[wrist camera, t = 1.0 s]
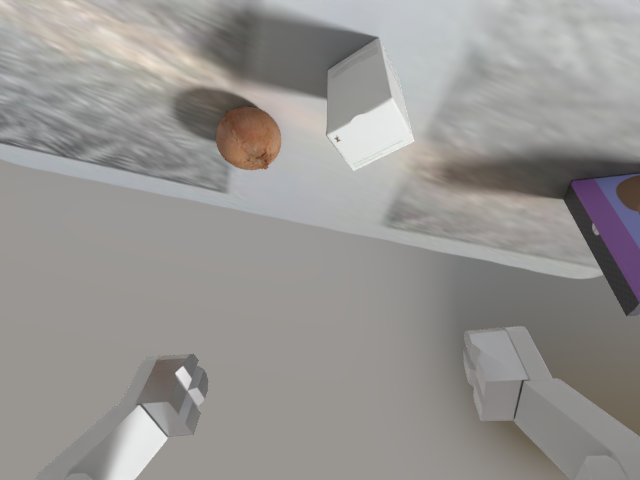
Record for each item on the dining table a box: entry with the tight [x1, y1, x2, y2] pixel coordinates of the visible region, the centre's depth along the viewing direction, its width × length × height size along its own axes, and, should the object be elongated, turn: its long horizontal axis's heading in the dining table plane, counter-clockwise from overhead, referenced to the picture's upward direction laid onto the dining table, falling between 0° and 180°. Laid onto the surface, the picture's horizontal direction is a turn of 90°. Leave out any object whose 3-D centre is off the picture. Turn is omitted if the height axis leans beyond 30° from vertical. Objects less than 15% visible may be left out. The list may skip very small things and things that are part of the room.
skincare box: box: [326, 38, 414, 171], centre depth 46 cm, size 8×7×16 cm
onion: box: [216, 107, 281, 170], centre depth 55 cm, size 10×9×10 cm
